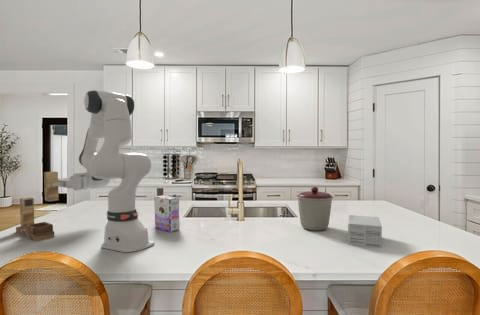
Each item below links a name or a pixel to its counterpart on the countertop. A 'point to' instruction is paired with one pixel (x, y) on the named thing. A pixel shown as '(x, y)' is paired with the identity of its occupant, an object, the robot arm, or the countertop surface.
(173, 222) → the candy box
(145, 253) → the countertop surface
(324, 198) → the canister
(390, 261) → the countertop surface
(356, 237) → the supplement box
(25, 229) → the wooden block stack
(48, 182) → the light wood tall block
